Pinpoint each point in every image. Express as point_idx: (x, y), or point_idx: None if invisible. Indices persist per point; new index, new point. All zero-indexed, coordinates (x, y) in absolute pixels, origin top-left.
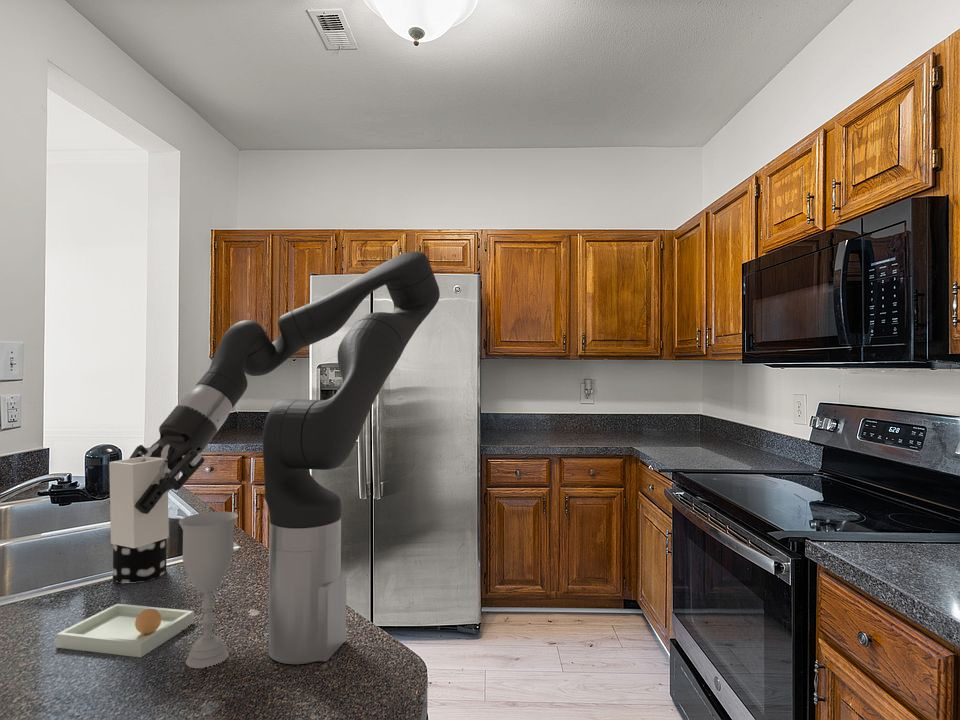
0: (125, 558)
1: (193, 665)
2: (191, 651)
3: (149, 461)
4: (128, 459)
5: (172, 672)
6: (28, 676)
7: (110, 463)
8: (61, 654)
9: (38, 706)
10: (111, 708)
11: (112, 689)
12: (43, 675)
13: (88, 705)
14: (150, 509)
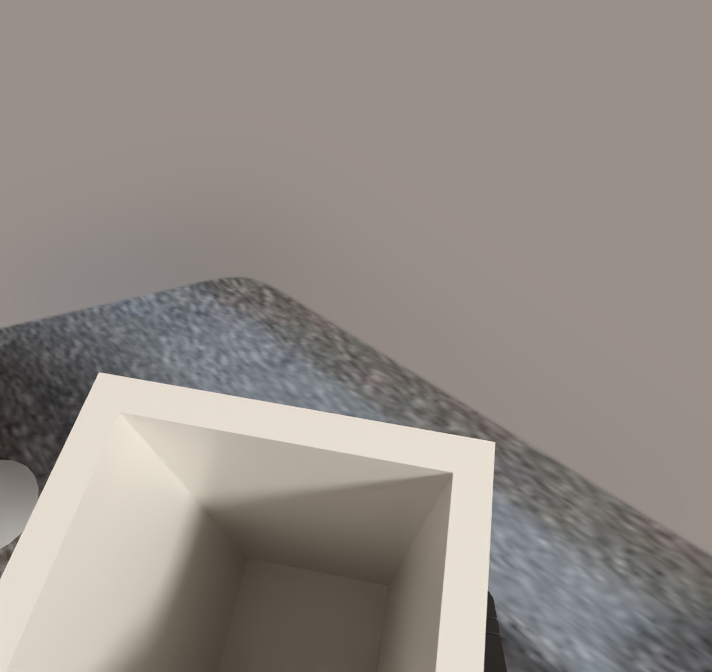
0: None
1: (2, 460)
2: (7, 472)
3: (13, 582)
4: (435, 658)
5: (42, 433)
6: (320, 347)
7: (469, 441)
8: None
9: (212, 290)
10: (85, 315)
11: (125, 356)
12: (296, 356)
13: (131, 312)
14: None
